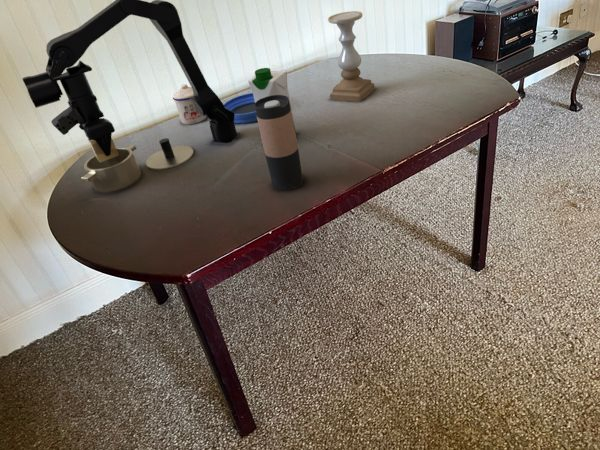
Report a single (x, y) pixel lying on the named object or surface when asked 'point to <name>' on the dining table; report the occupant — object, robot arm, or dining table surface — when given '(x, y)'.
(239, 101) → the bowl
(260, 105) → the travel mug
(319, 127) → the dining table surface
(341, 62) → the candle holder
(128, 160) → the pot
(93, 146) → the cube
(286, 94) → the milk carton
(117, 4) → the robot arm
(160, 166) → the lid
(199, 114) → the teacup with lid
